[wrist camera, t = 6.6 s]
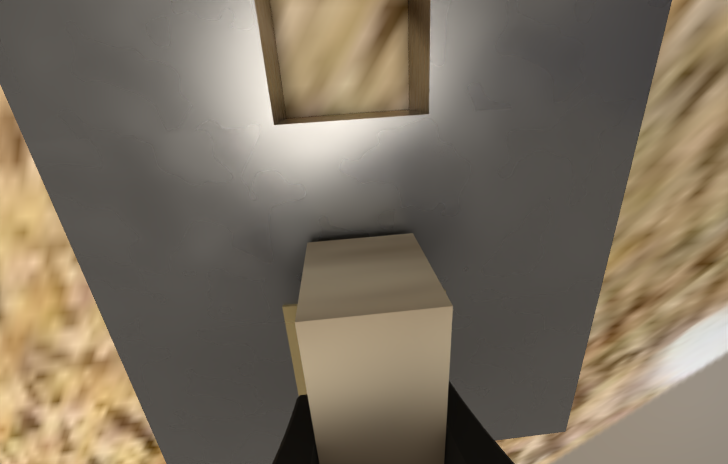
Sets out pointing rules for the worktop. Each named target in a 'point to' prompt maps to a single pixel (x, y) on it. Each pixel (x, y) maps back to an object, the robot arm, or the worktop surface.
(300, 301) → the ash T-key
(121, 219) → the charcoal cover panel
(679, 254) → the worktop surface
